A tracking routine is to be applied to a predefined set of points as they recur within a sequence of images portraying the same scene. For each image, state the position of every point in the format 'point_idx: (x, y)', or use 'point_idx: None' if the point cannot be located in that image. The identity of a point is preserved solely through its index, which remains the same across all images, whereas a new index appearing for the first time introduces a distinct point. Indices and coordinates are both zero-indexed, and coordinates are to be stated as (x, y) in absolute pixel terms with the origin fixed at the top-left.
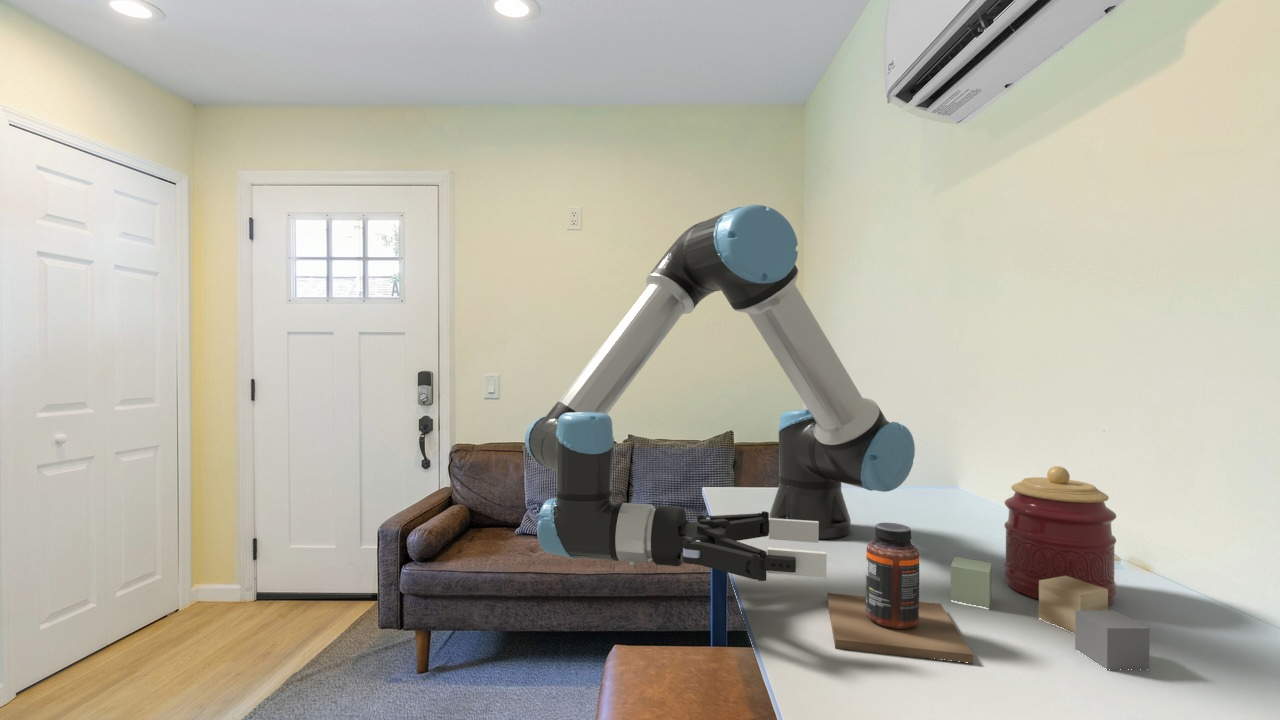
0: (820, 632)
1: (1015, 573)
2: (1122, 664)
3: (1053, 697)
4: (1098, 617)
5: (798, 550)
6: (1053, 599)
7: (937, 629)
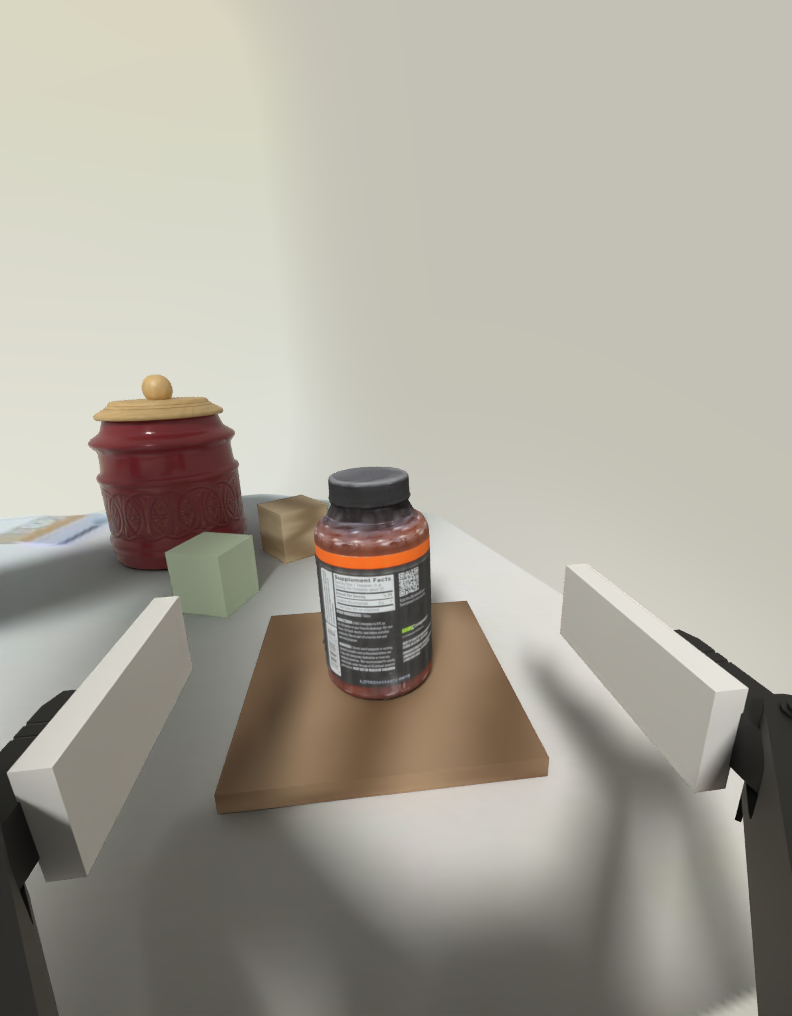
0: (471, 817)
1: (182, 542)
2: None
3: (506, 575)
4: None
5: (625, 608)
6: (299, 527)
7: None
